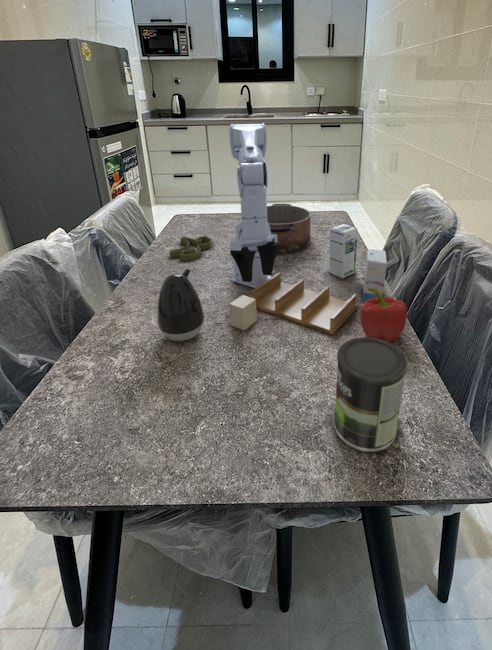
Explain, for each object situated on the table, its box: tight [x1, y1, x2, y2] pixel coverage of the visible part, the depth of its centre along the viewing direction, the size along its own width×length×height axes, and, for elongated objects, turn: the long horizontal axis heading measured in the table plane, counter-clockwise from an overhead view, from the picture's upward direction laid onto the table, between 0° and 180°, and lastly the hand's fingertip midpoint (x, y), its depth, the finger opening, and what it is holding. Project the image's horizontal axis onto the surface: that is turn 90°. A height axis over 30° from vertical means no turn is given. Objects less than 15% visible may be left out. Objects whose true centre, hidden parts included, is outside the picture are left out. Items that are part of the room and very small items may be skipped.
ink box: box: [363, 248, 388, 303], centre depth 101 cm, size 9×5×12 cm, turn 168°
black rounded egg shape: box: [156, 268, 205, 342], centre depth 85 cm, size 10×10×15 cm
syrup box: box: [328, 223, 358, 279], centre depth 113 cm, size 6×6×14 cm
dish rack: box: [249, 272, 358, 336], centre depth 97 cm, size 24×14×4 cm, turn 56°
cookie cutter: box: [169, 235, 213, 261], centre depth 134 cm, size 18×12×2 cm, turn 175°
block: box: [228, 294, 258, 331], centre depth 91 cm, size 4×5×6 cm
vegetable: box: [359, 287, 408, 343], centre depth 85 cm, size 11×10×10 cm
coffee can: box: [333, 336, 408, 453], centre depth 61 cm, size 10×10×14 cm
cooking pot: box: [267, 203, 312, 255], centre depth 137 cm, size 30×22×11 cm
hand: (257, 278), depth 87 cm, fingers open, 7 cm apart
